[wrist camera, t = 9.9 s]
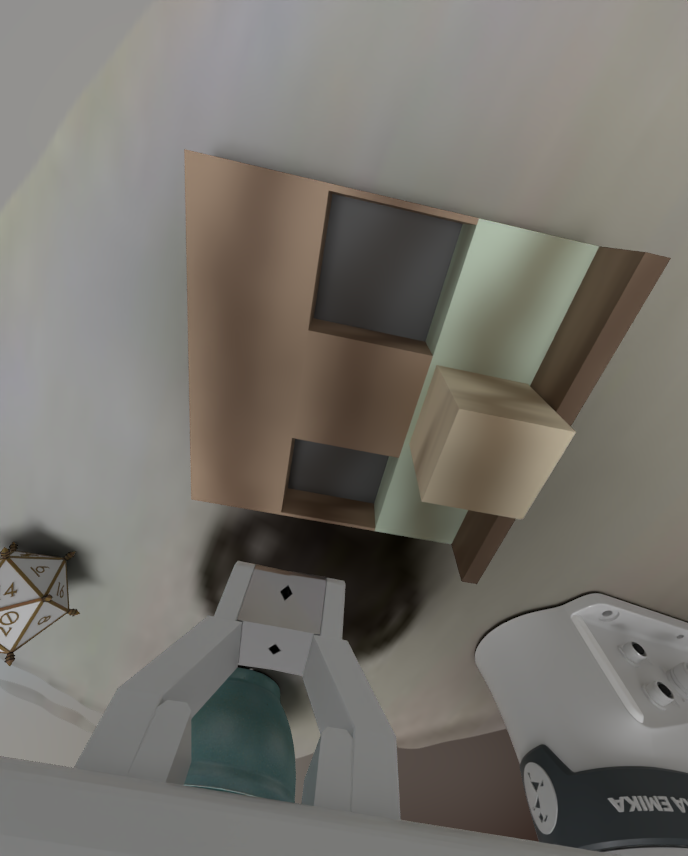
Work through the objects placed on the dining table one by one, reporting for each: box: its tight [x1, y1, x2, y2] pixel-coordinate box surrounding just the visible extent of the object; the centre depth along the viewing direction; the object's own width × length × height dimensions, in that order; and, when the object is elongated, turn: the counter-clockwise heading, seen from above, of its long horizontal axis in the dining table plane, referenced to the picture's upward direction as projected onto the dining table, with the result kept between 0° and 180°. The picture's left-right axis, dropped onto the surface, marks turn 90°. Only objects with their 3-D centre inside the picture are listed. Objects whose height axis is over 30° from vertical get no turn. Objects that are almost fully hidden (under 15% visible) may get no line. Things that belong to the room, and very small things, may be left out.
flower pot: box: [184, 668, 296, 803], centre depth 38 cm, size 16×16×11 cm
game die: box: [0, 542, 80, 666], centre depth 29 cm, size 9×8×10 cm
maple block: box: [409, 365, 576, 520], centre depth 18 cm, size 5×5×5 cm
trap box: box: [184, 149, 671, 584], centre depth 20 cm, size 19×19×6 cm
